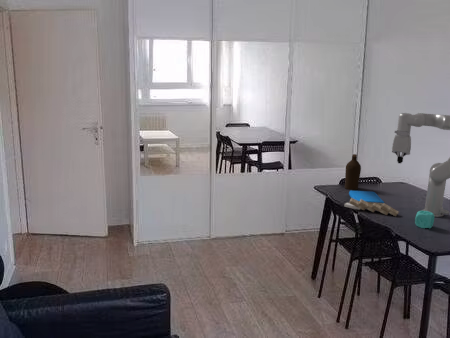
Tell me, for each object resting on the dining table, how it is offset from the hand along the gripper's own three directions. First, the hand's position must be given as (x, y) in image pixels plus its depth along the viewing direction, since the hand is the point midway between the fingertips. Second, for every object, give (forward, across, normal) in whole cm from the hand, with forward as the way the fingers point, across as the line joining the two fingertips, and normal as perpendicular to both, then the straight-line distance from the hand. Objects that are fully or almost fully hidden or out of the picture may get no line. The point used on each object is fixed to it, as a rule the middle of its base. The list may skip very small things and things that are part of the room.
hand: (399, 162), depth 288 cm
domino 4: (+28, +6, -15) cm, 32 cm away
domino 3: (+28, +1, -16) cm, 32 cm away
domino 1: (+28, -13, -17) cm, 35 cm away
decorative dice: (+29, +23, -24) cm, 44 cm away
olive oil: (+29, -38, +28) cm, 56 cm away
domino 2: (+28, -7, -16) cm, 33 cm away
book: (+30, -19, +3) cm, 36 cm away
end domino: (+29, -16, -16) cm, 36 cm away
